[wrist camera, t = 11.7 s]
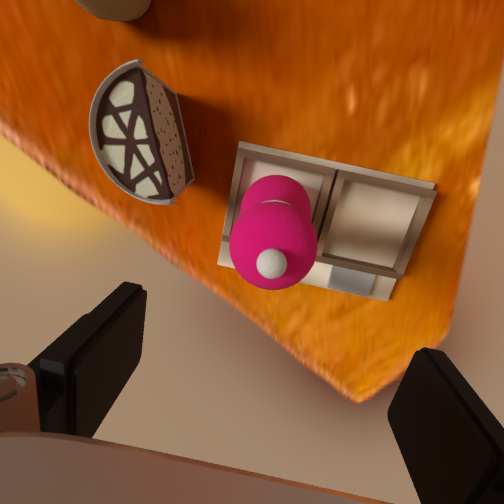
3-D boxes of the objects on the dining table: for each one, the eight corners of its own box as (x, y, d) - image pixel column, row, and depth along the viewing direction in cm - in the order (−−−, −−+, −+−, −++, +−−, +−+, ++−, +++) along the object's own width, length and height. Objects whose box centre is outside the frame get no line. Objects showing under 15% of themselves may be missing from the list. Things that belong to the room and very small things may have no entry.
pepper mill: (316, 219, 36) (354, 303, 17) (259, 241, 38) (238, 340, 19) (294, 160, 34) (311, 183, 15) (235, 186, 36) (185, 234, 17)
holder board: (240, 140, 35) (237, 140, 33) (430, 182, 35) (442, 185, 33) (218, 261, 40) (215, 268, 38) (385, 297, 40) (391, 307, 38)
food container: (120, 88, 34) (60, 68, 25) (173, 78, 33) (132, 52, 24) (149, 199, 38) (107, 217, 29) (197, 191, 37) (170, 208, 28)
